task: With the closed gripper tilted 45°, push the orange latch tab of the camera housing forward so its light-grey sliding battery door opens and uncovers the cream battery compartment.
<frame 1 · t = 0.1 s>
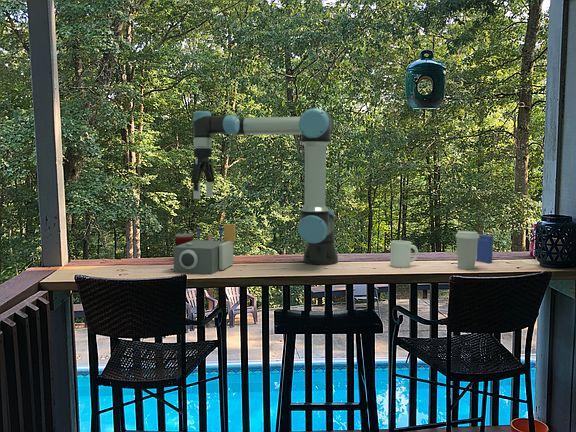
hand: (203, 197, 241), 28 cm above the bar counter, tool pointing down, fingers open, 13 cm apart
mug: (404, 266, 237), on the bar counter
coffee cup: (466, 268, 233), on the bar counter
canned food: (184, 259, 251), on the bar counter
walkman: (482, 262, 247), on the bar counter
battery door: (225, 246, 230), point 9 cm above the bar counter, slide at 0.0 cm
camera housing: (202, 268, 229), on the bar counter
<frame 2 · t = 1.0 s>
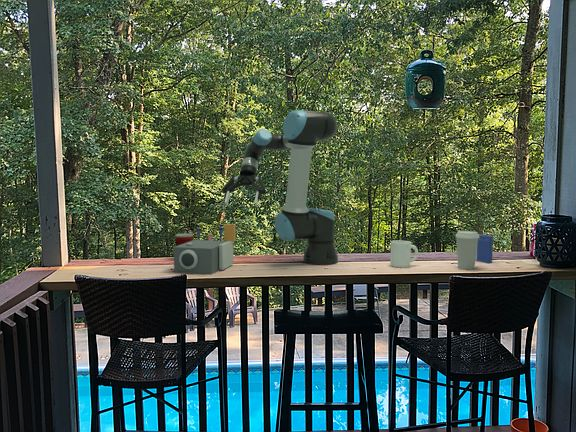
hand: (240, 204, 248), 25 cm above the bar counter, tool tilted 45°, fingers open, 13 cm apart
nothing on the bar counter moved.
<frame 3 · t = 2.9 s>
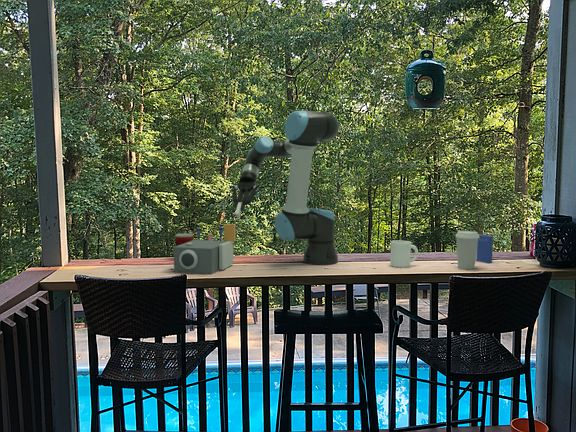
hand: (237, 215, 246), 20 cm above the bar counter, tool tilted 45°, fingers closed
nothing on the bar counter moved.
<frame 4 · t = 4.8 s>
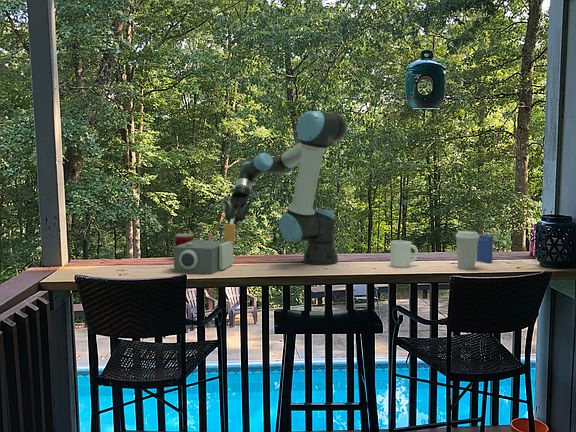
hand: (229, 232, 237), 14 cm above the bar counter, tool tilted 45°, fingers closed
battery door: (225, 246, 230), point 9 cm above the bar counter, slide at 0.1 cm, touching gripper
everything else where it was.
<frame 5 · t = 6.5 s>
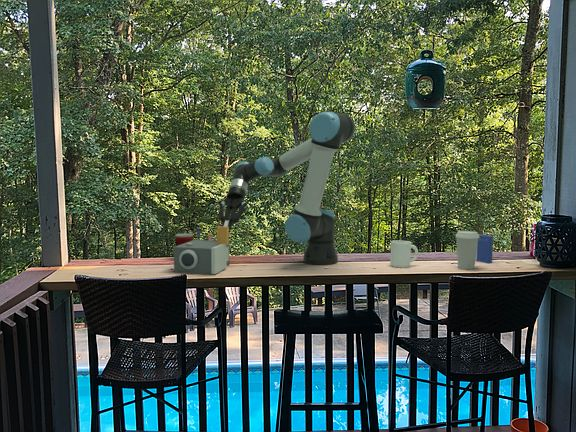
hand: (224, 234, 229), 14 cm above the bar counter, tool tilted 45°, fingers closed
battery door: (218, 249, 222), point 9 cm above the bar counter, slide at 8.5 cm, touching gripper
everything else where it was.
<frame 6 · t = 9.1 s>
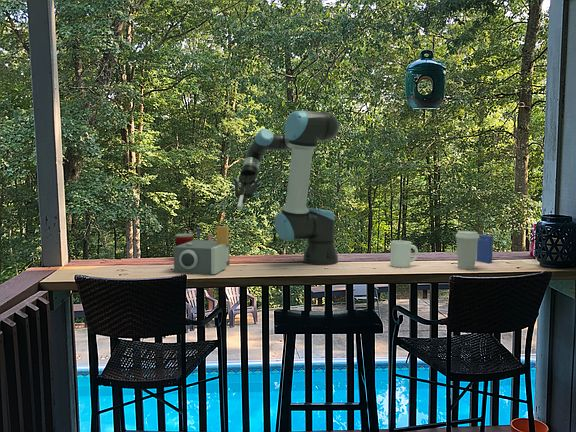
hand: (239, 208, 246), 23 cm above the bar counter, tool tilted 45°, fingers closed
battery door: (217, 249, 221), point 9 cm above the bar counter, slide at 8.7 cm
everything else where it was.
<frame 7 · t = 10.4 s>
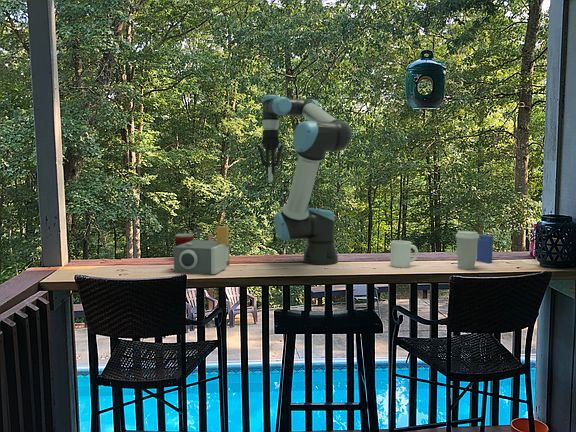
hand: (270, 181, 259), 34 cm above the bar counter, tool pointing down, fingers closed
nothing on the bar counter moved.
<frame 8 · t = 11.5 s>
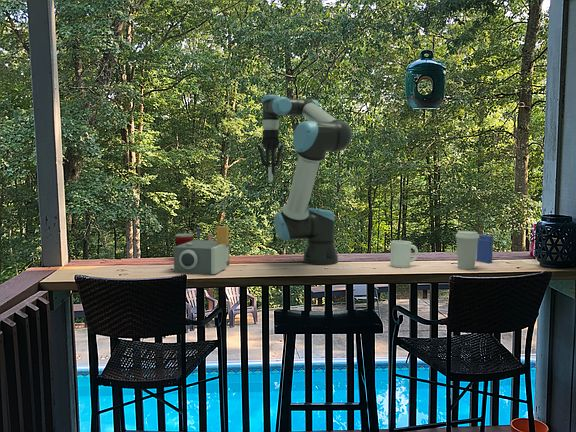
hand: (270, 181, 259), 34 cm above the bar counter, tool pointing down, fingers closed
nothing on the bar counter moved.
at the end: battery door slide at 8.7 cm; canned food moved 0.2 cm from its start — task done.
